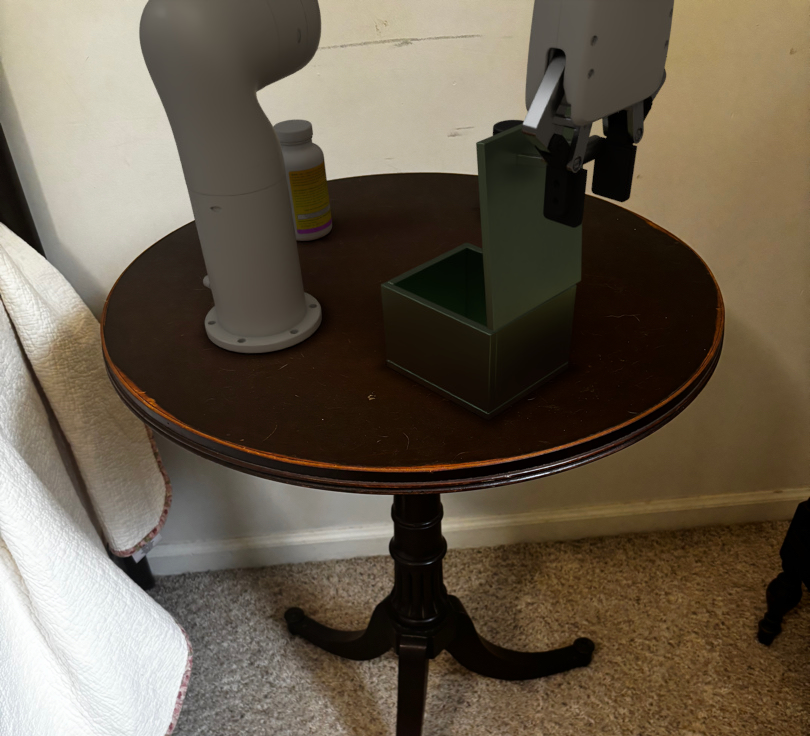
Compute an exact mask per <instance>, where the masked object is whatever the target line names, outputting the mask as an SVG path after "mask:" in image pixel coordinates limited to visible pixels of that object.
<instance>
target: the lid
mask: <svg viewBox="0 0 810 736" xmlns="http://www.w3.org/2000/svg"><path fill="white" fill-rule="evenodd" d="M565 115H566V116H570V115H571V107H567V109H566V113H565ZM521 129H522V124H520V125H518V126H515V127H513V128H510V129H508V130H505V131H503V132H501V133H498V134H496V135H493V134H492V135H491V136H488V137H486V138H484V139H482V140H481V139H480V140H479V141H476V142H475V150H476V163H477V164H476V166H477V180H478V196H479V197H478V198H479V209H480V210H479V212H480V228H481V243H482V244H481V245H482V247H481V248H482V249H483V264H484V280H485V297H486V313H487V328H488V329H490V330H493V331H495V330H497V329H499V328H500V327H502V326H504V325H505V324H507V323H509V322H511V321H512V320H514V319H516V318H517V317H519V316H521V315H523V314H524V313H526V312H528V311H529V310H531V309H533V308H535V307H536V306H538V305H540V304H541V303H543V302H545V301H547V300H548V299H550V298H552V297H554V296H555V295H557V294H559V293H560V292H562V291H564V290H566V289H567V288H569V287H571V286H572V285H574V284H576V285H577V284H578V283H579V282H581V281H582V255H583V254H582V252H583V251H582V250H583V249H582V246H583V223H582V224H581V225H579V226H578V227H576V228H572V227H569V226H566V225H563V224H561V223H558V222H555V221H552V220H549V219H546V218H545V217H544V215H543V207H544V192H545V178H546V165H545V164H543V163H542V162H541V155H540V153H539V152H538V151H537V149H536V148H535V145H534V144H532V143H531V142H530V141H529V140H528V139H527V138H526V137H525V136H524V135H523V133H522V130H521ZM573 133H574V129H571V128H567V127H564V130H563V134H562V135H563V136H564V138H565V139H566V141H567V142H568V144H569V145H570V146H571V142H572V137H573ZM601 137H602V136H601V135H598V134H592V135H590V136H589V140H588V144H587V148H586V152H585V156H584V160H583V164H582V167H581V168H583V169H584V165H586V164H589V163H590V162H593V161H594V160H595V159H597V158H599V157H600V156H602V154H603V153H604V150H605V144H604V141H603V139H602V138H601Z"/></svg>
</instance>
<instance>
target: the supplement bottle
mask: <svg viewBox="0 0 810 736" xmlns="http://www.w3.org/2000/svg"><path fill="white" fill-rule="evenodd" d="M273 127H274V129H275V131H276V133H277V135H278V138H279V141H280V144H281V148H282V152H283V157H284V164H285V170H286V175H287V182H288V188H289V195H290V202H291V208H292V215H293V222H294V228H295V235H296V242H308V241H315V240H319V239H320V238H323V237H326V235H328V234H330V232H331V231H332V228H333V218H332V217H333V216H332V210H331V202H330V201H331V200H330V195H329V186H328V185H329V184H328V179H327V178H328V177H327V170H326V162H325V155H324V154H325V153H324V151H323V149H322V148H321V147H320V145H318V144H316V143H315V142H313V136H314V130H313V124H312V121H309V120H307V119H287V120H282V121H279V122H276V123H275V124H274V125H273Z"/></svg>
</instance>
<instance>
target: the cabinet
mask: <svg viewBox="0 0 810 736" xmlns="http://www.w3.org/2000/svg"><path fill="white" fill-rule="evenodd" d="M577 287H578V286H577V283H576V284H574V285H572V286H571V287H569V288H567V289H566V290H564V291H562V292H560V293H559V294H557V295H555V296H554V297H552V298H550V299H548V300H547V301H545V302H543V303H541V304H540V305H538V306H536V307H535V308H533V309H531V310H529V311H528V312H526V313H524V314H523V315H521V316H519V317H517V318H516V319H514V320H512V321H511V322H509V323H507V324H505V325H504V326H502V327H500V328H499V329H497V330H495V331H493V330H490V329H488V328H487V313H486V297H485V280H484V264H483V248H482V247H479V246H477V245H474V244H472V243H469V242H464V243H463V244H461V245H459V246H457V247H454V248H452V249H449V250H448V251H446V252H444V253H442V254H440V255H438V256H436V257H434V258H432V259H430V260H428V261H426V262H424V263H422V264H419V265H418V266H415V267H414V268H412V269H410V270H408V271H406V272H404V273H402V274H399V275H398V276H396V277H393V278H391V279H390V280H387V281H385V282H382V283H381V284H380V291H381V303H382V316H383V317H382V318H383V329H384V330H383V331H384V343H385V353H386V355H385V357H386V366H387V367H388V368H389V369H391V370H393V371H395V372H397V373H399V374H401V375H402V376H404V377H406V378H408V379H410V380H411V381H412V382H415V383H417V384H419V385H420V386H422V387H424V388H427V389H428V390H430V391H432V392H434V393H436V394H438V395H439V396H441V397H443V398H445V399H446V400H449V401H450V402H452V403H454V404H456V405H458V406H460V407H461V408H464V409H466V410H467V411H469V412H471V413H473V414H475V415H476V416H478V417H480V418H482V419H484V420H486V421H490V420H492V419H493V418H495V417H496V416H498V415H499V414H501V413H502V412H504V411H505V410H508V408H510V407H512V406H513V405H515V404H516V403H518V402H519V401H521V400H523V399H524V398H525V397H527V396H528V395H530V394H531V393H533V392H534V391H536V390H538V389H539V388H541V387H542V386H543V385H545V384H547V383H548V382H550V381H551V380H553V379H554V378H556V377H558V375H561V374H562V373H563V372H565V371H566V370H568V369H569V360H570V352H571V341H572V332H573V323H574V315H575V304H576V294H577Z"/></svg>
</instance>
